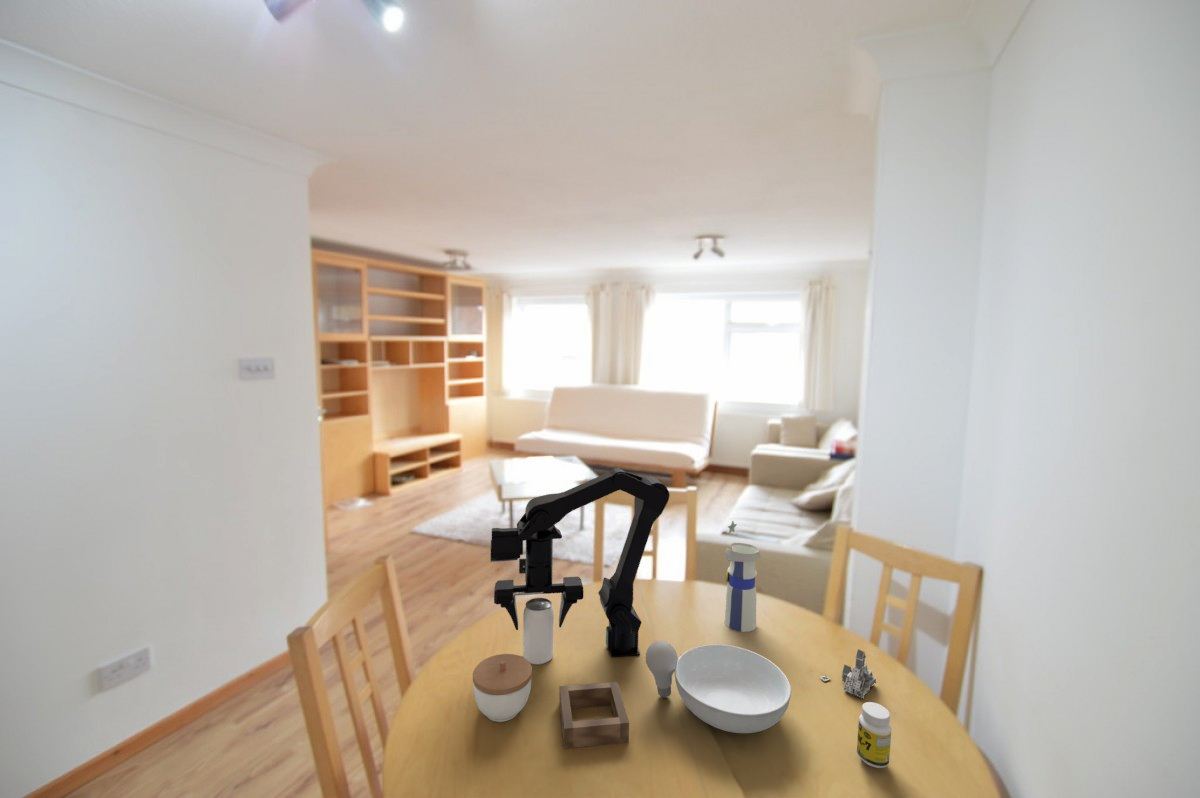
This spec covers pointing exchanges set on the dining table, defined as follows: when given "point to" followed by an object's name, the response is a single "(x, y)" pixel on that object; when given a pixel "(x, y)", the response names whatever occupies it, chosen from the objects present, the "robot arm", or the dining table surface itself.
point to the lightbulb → (662, 665)
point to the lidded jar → (502, 686)
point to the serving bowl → (732, 688)
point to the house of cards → (857, 676)
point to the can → (538, 631)
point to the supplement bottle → (874, 735)
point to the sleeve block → (597, 728)
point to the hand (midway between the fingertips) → (538, 627)
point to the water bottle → (741, 586)
